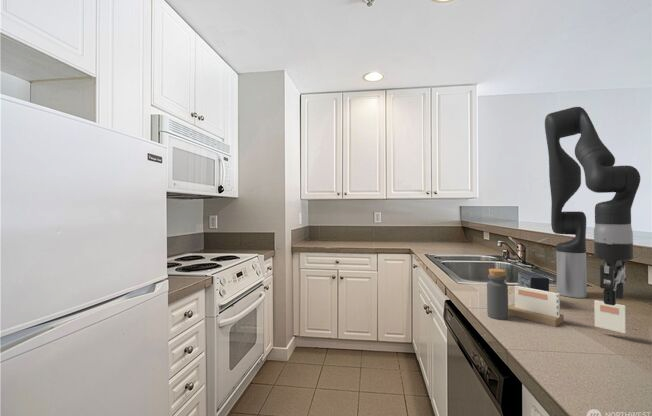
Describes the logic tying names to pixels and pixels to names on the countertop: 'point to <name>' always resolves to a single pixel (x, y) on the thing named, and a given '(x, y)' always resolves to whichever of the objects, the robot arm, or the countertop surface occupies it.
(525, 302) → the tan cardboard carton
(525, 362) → the countertop surface
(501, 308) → the bottle
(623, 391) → the countertop surface
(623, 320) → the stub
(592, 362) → the countertop surface
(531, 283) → the small box
